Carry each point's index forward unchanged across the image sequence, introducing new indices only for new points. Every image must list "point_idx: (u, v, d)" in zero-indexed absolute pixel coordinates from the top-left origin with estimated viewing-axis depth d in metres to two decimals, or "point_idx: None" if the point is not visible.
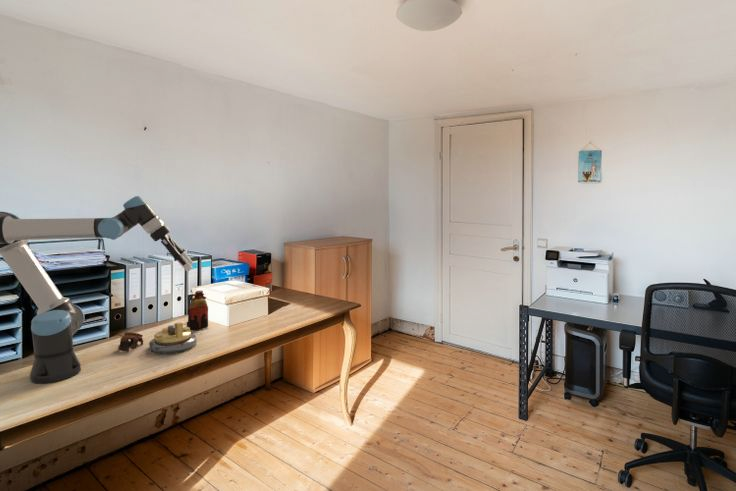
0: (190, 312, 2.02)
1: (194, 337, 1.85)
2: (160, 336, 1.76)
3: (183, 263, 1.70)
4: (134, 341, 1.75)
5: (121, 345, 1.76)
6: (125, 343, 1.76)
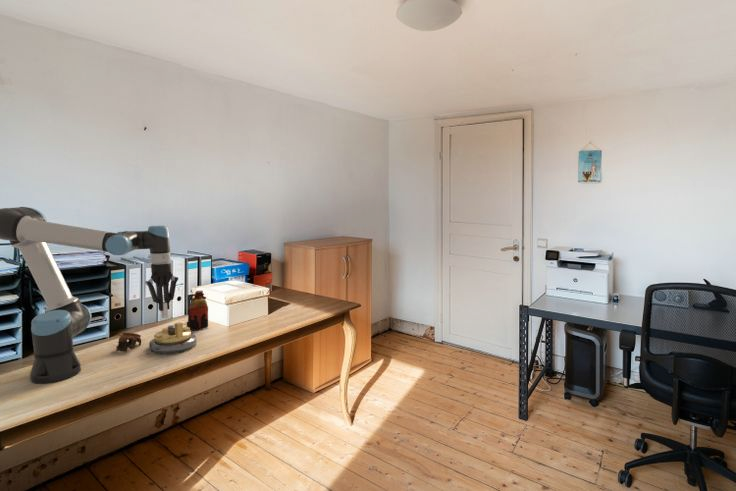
0: (190, 312, 2.02)
1: (194, 337, 1.85)
2: (160, 336, 1.76)
3: (159, 309, 1.70)
4: (132, 341, 1.75)
5: (119, 345, 1.76)
6: (124, 343, 1.76)
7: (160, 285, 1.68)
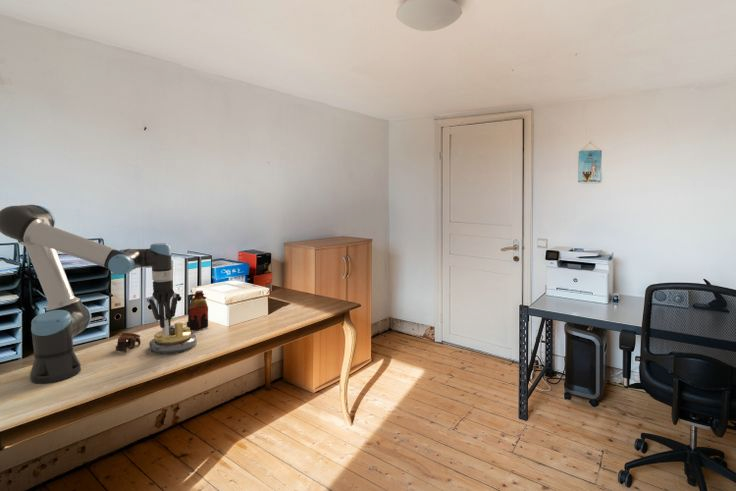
0: (190, 312, 2.02)
1: (194, 337, 1.85)
2: (160, 336, 1.76)
3: (160, 326, 1.71)
4: (132, 341, 1.75)
5: (118, 345, 1.75)
6: (123, 344, 1.75)
7: (162, 302, 1.69)
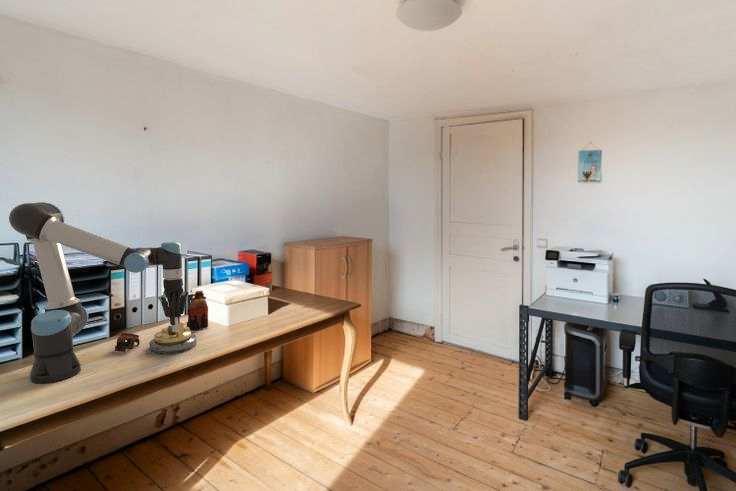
0: (190, 312, 2.02)
1: (194, 337, 1.85)
2: (160, 336, 1.76)
3: (171, 323, 1.74)
4: (131, 342, 1.74)
5: (118, 346, 1.75)
6: (122, 344, 1.75)
7: (173, 300, 1.73)
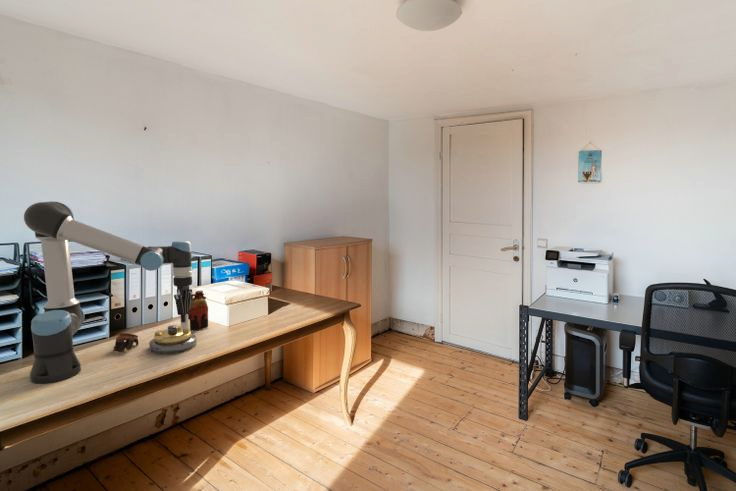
0: (190, 312, 2.02)
1: (194, 337, 1.85)
2: (170, 336, 1.76)
3: (182, 321, 1.78)
4: (130, 342, 1.74)
5: (116, 346, 1.75)
6: (121, 344, 1.75)
7: (185, 297, 1.77)
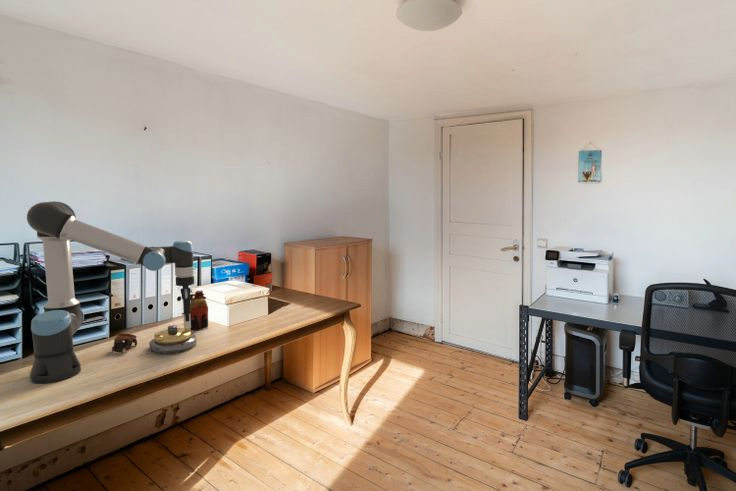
0: (190, 312, 2.02)
1: (194, 337, 1.85)
2: (177, 335, 1.77)
3: (187, 320, 1.80)
4: (128, 342, 1.74)
5: (115, 346, 1.75)
6: (119, 344, 1.75)
7: None
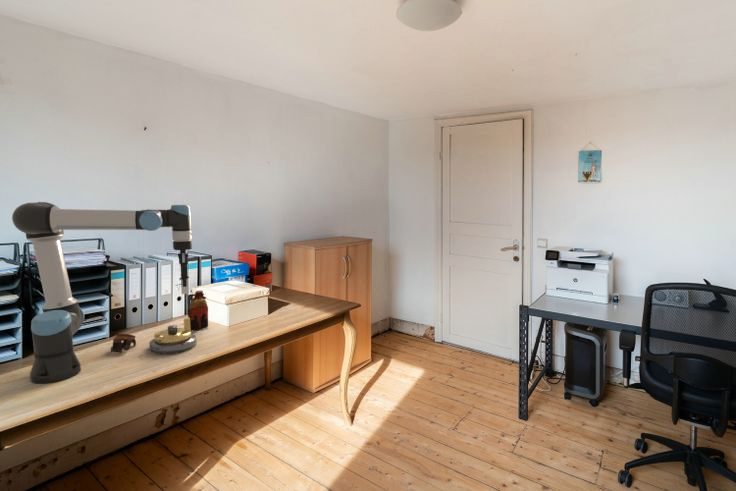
0: (190, 312, 2.02)
1: (194, 337, 1.85)
2: (177, 335, 1.77)
3: (184, 285, 1.77)
4: (127, 342, 1.74)
5: (114, 346, 1.74)
6: (118, 344, 1.75)
7: (187, 261, 1.77)
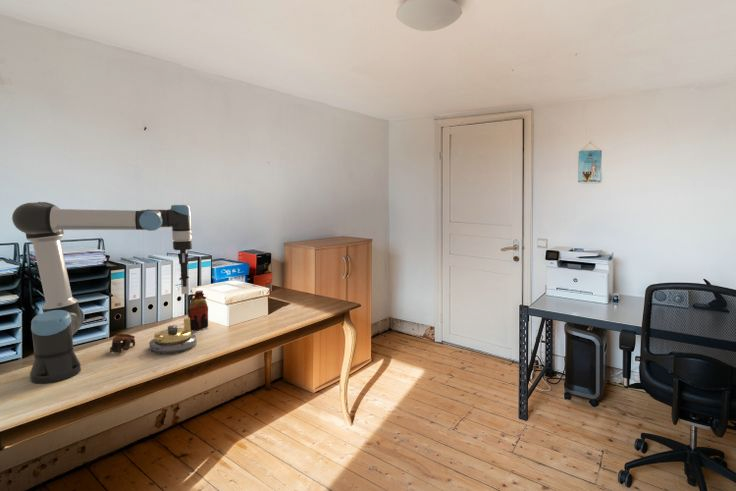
0: (190, 312, 2.02)
1: (194, 337, 1.85)
2: (177, 335, 1.77)
3: (184, 285, 1.77)
4: (126, 342, 1.74)
5: (113, 347, 1.74)
6: (117, 345, 1.74)
7: (187, 261, 1.77)
